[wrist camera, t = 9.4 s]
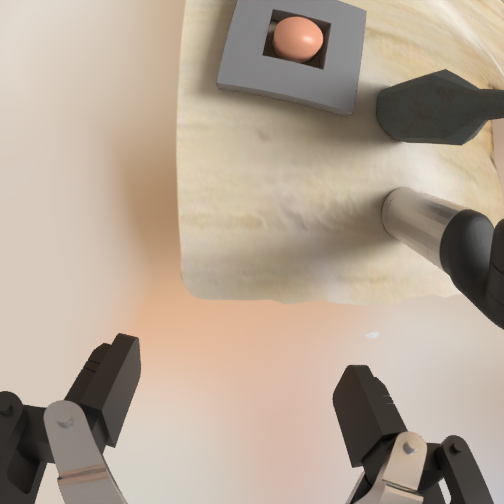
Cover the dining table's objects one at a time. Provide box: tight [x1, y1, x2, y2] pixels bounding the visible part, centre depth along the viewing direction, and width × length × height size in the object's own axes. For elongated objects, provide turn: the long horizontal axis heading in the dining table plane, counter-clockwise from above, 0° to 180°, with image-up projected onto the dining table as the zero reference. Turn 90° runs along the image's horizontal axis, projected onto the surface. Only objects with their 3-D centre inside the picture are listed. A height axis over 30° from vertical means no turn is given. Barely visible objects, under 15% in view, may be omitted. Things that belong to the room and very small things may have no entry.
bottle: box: [377, 69, 504, 145], centre depth 25 cm, size 10×10×30 cm
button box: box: [216, 0, 367, 116], centre depth 33 cm, size 20×20×4 cm
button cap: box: [272, 17, 323, 63], centre depth 32 cm, size 7×7×4 cm
